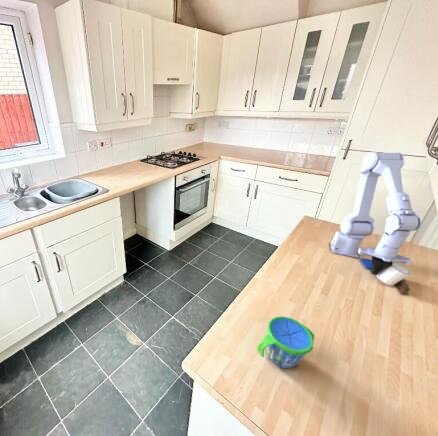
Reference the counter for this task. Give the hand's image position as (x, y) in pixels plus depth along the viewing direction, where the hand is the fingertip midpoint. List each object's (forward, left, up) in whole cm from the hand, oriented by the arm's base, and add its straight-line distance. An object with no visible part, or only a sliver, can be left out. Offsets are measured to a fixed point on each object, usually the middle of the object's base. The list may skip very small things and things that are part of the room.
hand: (373, 273), depth 94 cm
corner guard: (+5, 0, -2) cm, 5 cm away
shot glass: (+4, 0, -2) cm, 4 cm away
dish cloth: (+3, +9, -2) cm, 10 cm away
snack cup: (-30, -51, -3) cm, 59 cm away
